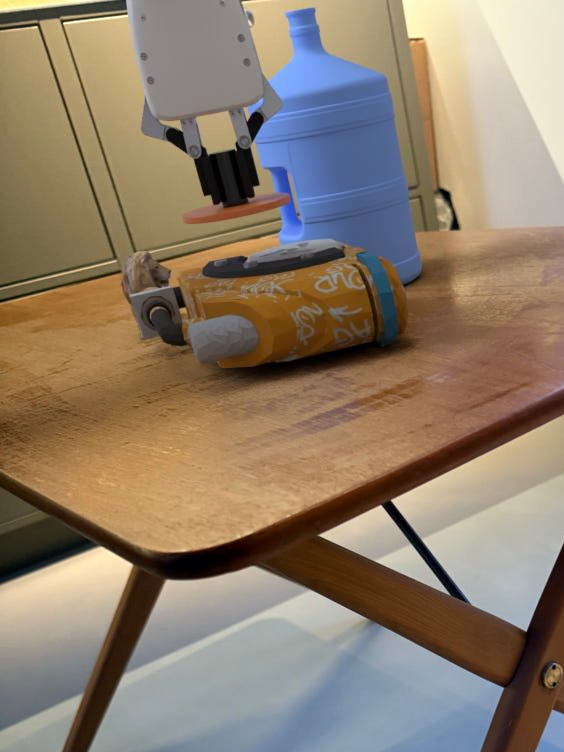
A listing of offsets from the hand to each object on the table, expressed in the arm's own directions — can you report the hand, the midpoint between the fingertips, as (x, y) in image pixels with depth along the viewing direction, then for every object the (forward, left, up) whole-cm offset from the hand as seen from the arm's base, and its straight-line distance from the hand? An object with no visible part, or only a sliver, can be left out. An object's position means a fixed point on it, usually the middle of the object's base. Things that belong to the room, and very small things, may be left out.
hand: (234, 198), depth 95 cm
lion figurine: (-13, +20, -14) cm, 28 cm away
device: (0, 0, -14) cm, 14 cm away
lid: (0, 0, -1) cm, 1 cm away
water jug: (+10, +22, -14) cm, 28 cm away
